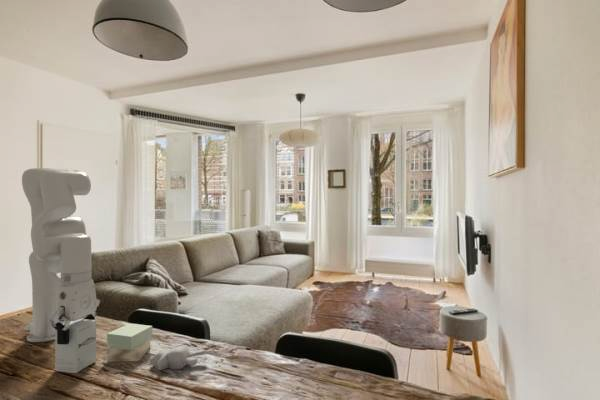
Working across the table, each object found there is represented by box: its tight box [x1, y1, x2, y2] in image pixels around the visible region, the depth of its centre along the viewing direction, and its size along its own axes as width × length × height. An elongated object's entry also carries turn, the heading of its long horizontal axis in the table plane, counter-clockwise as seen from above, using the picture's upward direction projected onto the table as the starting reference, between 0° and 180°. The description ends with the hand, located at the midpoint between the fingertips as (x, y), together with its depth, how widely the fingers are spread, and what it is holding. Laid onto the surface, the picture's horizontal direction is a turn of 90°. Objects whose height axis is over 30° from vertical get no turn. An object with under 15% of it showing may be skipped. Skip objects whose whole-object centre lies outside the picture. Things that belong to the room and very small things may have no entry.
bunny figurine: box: [149, 345, 207, 371], centre depth 98 cm, size 10×5×15 cm
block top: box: [106, 322, 153, 350], centre depth 105 cm, size 9×9×4 cm
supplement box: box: [54, 318, 97, 374], centre depth 98 cm, size 7×7×13 cm
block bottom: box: [107, 339, 151, 363], centre depth 105 cm, size 9×9×4 cm
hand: (77, 337), depth 97 cm, fingers open, 9 cm apart
